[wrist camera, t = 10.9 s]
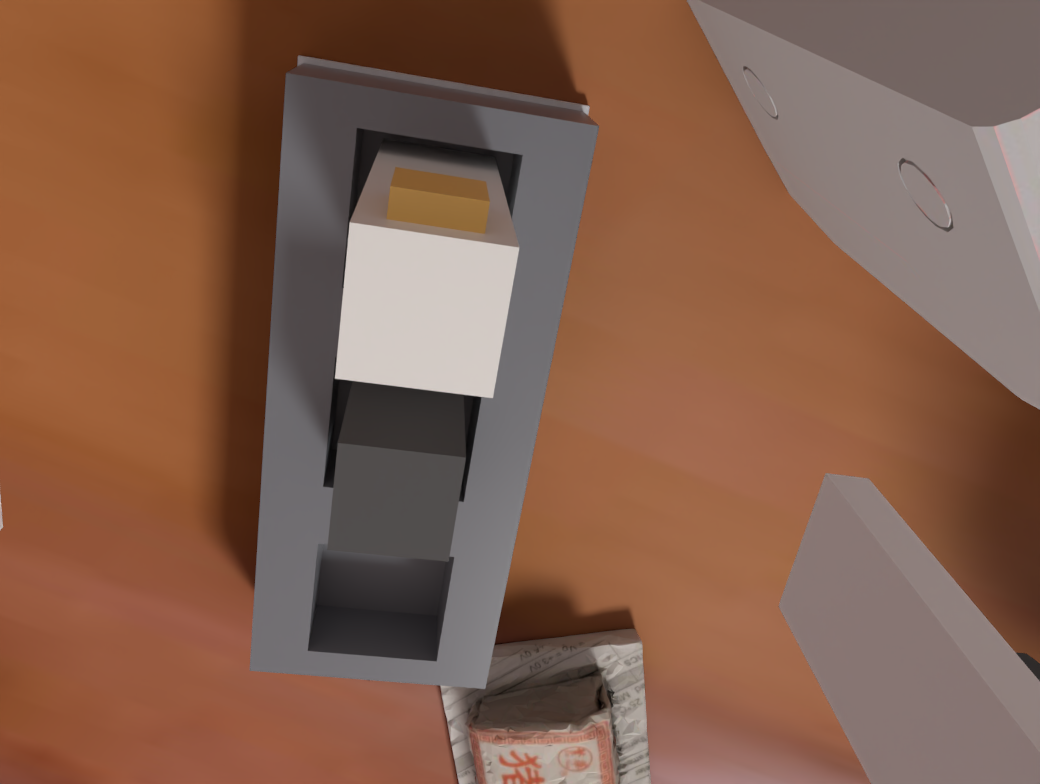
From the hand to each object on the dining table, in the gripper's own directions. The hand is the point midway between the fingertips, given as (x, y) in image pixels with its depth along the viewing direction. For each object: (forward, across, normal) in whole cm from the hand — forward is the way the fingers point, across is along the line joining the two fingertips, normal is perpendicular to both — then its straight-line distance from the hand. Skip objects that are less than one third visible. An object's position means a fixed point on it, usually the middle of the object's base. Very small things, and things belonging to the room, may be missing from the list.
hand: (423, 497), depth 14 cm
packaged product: (+22, -10, +29) cm, 38 cm away
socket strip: (+21, 0, +8) cm, 23 cm away
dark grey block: (+20, 0, +8) cm, 22 cm away
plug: (+20, 0, 0) cm, 20 cm away
